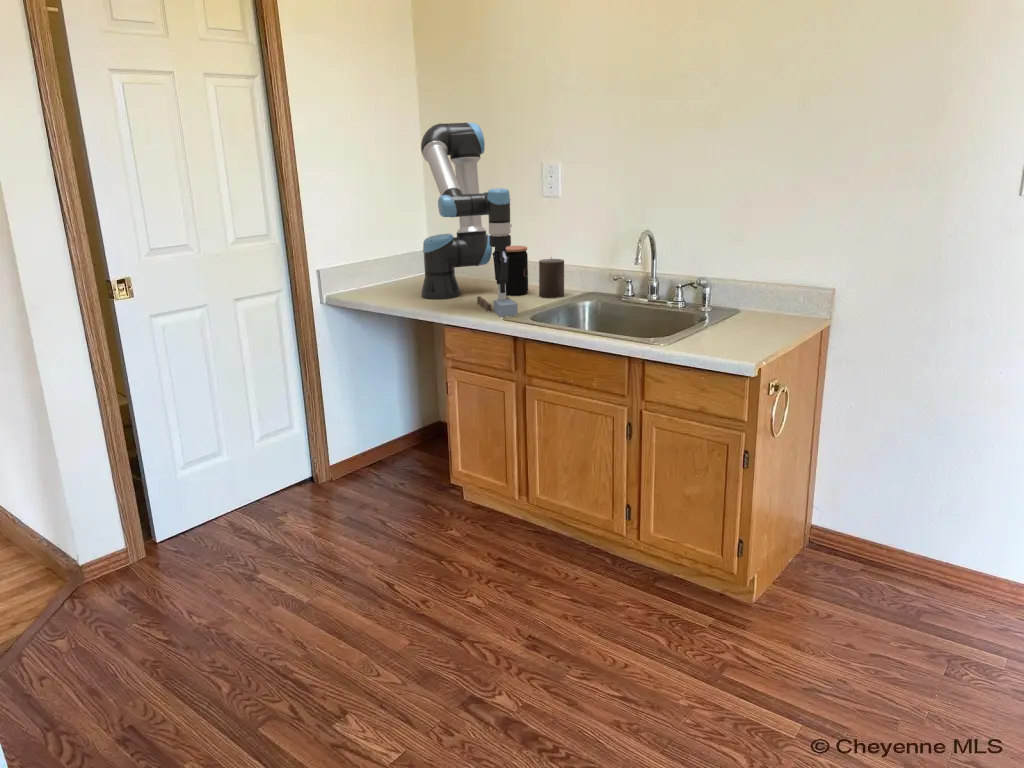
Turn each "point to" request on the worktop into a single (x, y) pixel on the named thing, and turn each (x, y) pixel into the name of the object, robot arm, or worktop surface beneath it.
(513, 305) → the slate block
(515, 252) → the coffee jar
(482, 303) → the walnut channel
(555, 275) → the pillar candle
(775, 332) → the worktop surface
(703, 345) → the worktop surface
